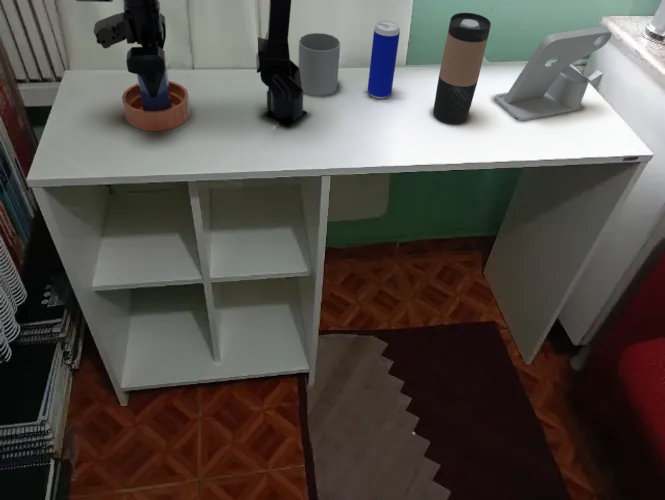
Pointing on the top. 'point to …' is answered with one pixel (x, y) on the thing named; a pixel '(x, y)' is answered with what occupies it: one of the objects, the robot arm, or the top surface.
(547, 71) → the phone holder
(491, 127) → the top surface
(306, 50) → the cup
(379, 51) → the beverage can
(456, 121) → the travel mug
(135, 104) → the bowl
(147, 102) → the tumbler
